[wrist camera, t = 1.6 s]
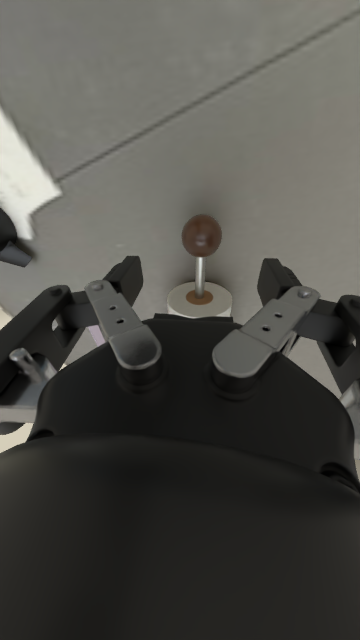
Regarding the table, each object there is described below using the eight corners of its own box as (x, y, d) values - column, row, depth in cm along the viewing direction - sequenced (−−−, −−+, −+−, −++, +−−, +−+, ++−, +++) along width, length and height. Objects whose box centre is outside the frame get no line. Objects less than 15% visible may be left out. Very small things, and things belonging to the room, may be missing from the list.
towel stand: (167, 206, 20) (151, 227, 15) (240, 205, 19) (253, 226, 14) (176, 357, 35) (170, 395, 30) (218, 359, 34) (220, 399, 29)
